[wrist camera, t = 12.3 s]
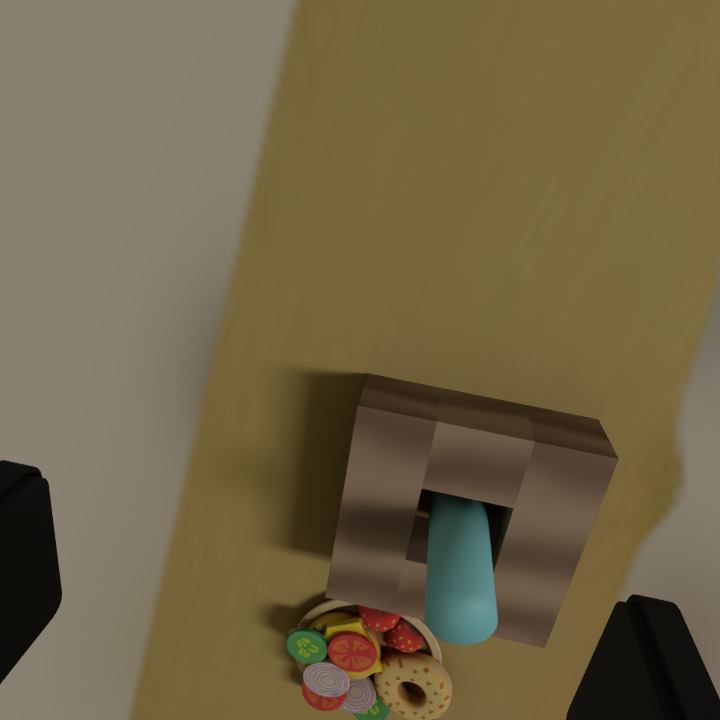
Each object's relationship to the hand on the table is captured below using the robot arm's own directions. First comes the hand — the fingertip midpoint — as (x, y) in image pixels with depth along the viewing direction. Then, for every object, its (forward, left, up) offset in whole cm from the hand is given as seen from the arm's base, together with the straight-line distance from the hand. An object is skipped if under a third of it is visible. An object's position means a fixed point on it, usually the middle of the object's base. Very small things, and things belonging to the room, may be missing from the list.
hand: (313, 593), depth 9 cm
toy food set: (+35, +2, -30) cm, 46 cm away
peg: (+17, +6, -29) cm, 35 cm away
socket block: (+17, +6, -29) cm, 35 cm away
